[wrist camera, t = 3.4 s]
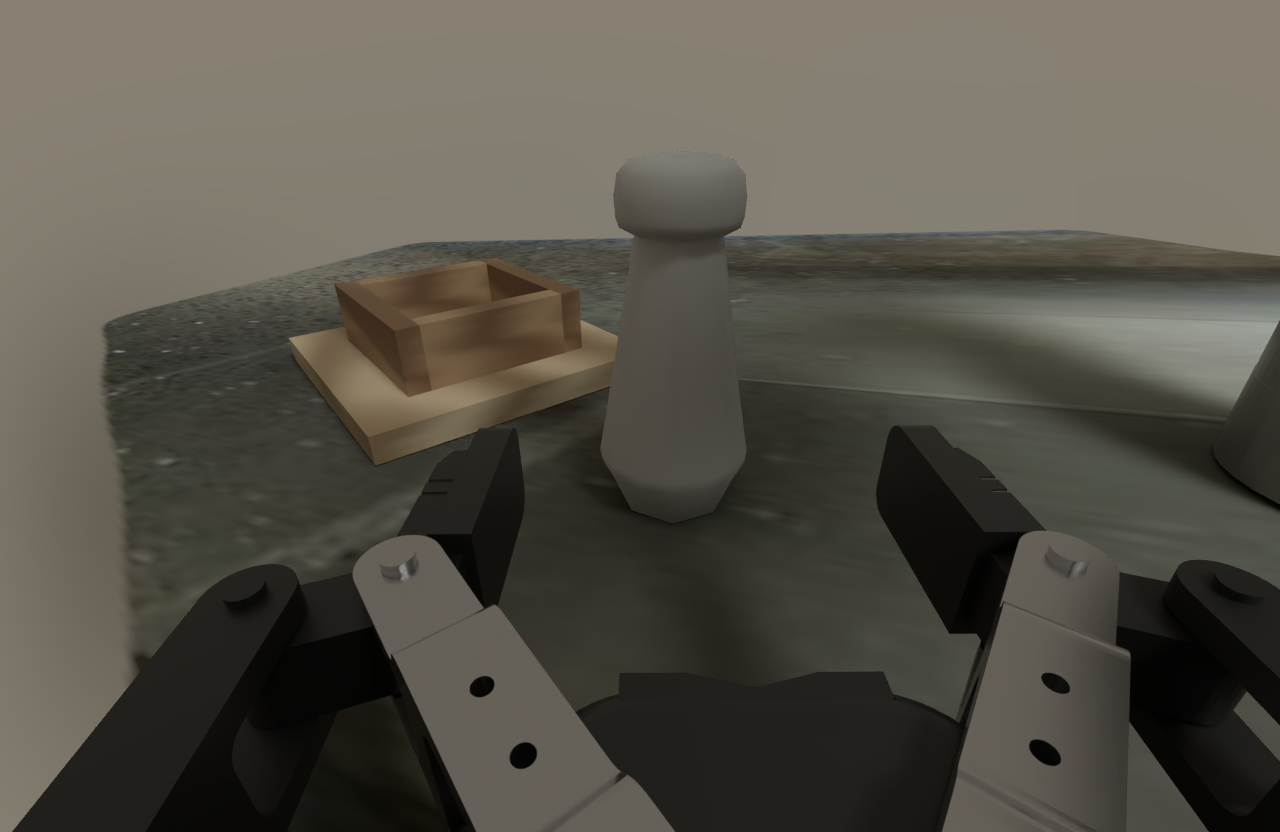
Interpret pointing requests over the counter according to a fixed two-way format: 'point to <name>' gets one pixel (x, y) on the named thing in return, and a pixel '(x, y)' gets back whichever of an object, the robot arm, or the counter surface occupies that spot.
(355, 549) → the counter surface
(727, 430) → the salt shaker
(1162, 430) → the counter surface
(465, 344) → the socket holder
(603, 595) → the counter surface
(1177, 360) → the counter surface
